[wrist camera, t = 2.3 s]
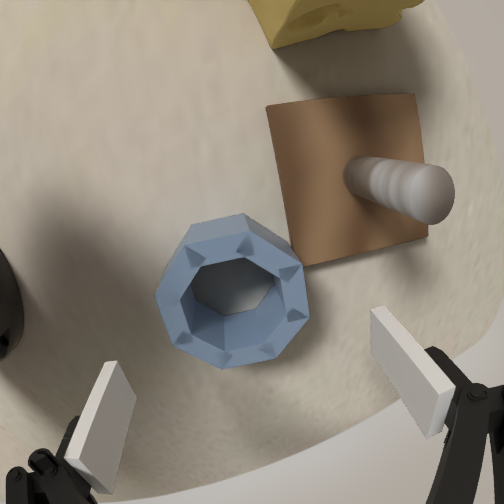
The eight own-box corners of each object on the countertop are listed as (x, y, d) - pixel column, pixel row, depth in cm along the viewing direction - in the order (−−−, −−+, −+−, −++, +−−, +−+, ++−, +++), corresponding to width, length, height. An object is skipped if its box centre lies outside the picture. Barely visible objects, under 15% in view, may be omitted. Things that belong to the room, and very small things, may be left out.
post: (293, 263, 25) (335, 331, 16) (265, 107, 21) (299, 78, 12) (422, 233, 25) (499, 275, 16) (407, 95, 21) (493, 82, 12)
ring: (189, 338, 26) (184, 375, 21) (156, 233, 23) (141, 255, 18) (298, 315, 26) (313, 349, 22) (280, 205, 23) (295, 220, 19)
